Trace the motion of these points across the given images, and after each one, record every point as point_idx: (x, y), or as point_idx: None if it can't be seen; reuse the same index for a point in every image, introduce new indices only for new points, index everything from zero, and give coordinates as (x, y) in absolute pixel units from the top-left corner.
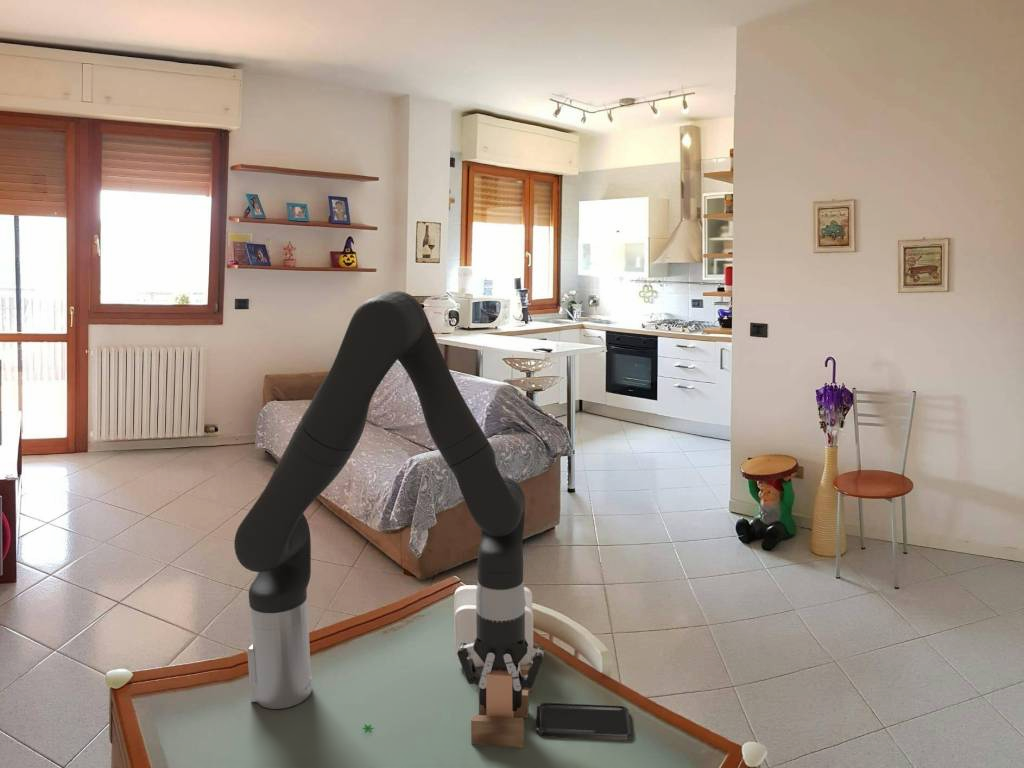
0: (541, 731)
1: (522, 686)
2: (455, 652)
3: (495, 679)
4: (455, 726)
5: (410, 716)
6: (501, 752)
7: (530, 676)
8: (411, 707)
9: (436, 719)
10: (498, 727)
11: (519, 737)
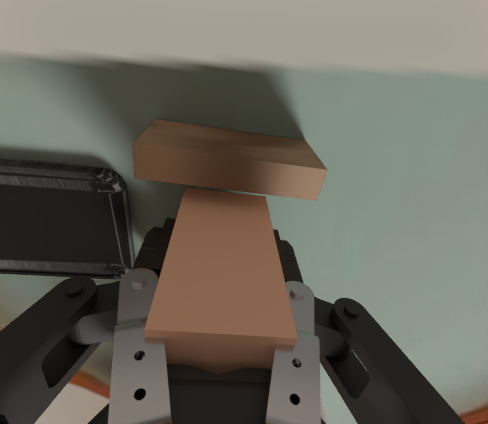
0: (102, 175)
1: (117, 287)
2: (320, 399)
3: (243, 312)
4: (338, 209)
5: (436, 242)
6: (219, 99)
7: (39, 331)
8: (425, 269)
9: (379, 232)
10: (228, 149)
11: (158, 129)
